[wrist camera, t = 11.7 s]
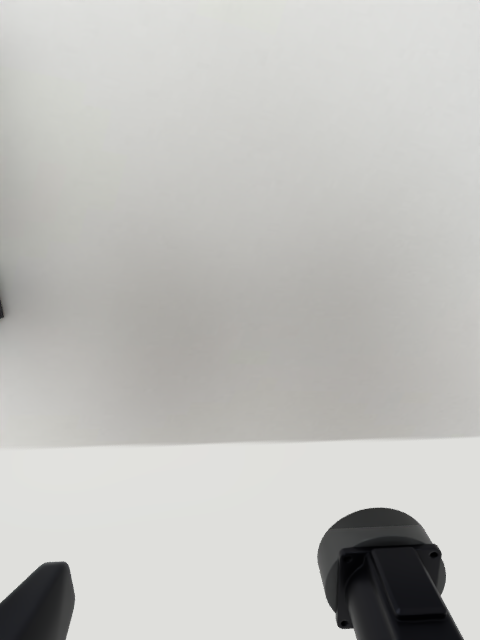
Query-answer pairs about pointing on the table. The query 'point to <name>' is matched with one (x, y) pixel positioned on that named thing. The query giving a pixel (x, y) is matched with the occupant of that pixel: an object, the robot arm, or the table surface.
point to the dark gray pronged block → (0, 312)
